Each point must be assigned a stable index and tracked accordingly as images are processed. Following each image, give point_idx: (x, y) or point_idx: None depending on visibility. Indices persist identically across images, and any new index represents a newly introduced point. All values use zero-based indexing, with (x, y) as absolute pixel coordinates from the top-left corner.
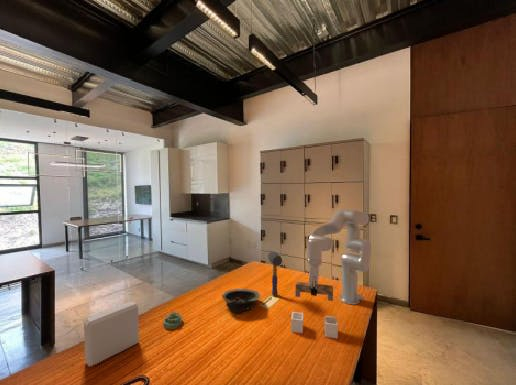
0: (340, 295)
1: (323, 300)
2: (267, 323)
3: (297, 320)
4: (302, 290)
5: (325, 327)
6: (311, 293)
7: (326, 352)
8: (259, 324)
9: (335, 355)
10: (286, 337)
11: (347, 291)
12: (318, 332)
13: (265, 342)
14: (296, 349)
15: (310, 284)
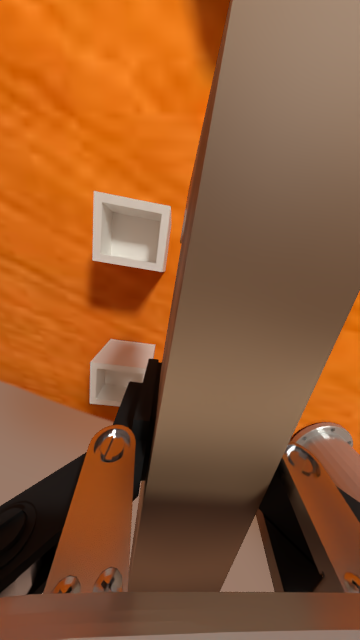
0: (345, 431)
1: (329, 370)
2: (166, 84)
3: (94, 231)
4: (178, 268)
5: (100, 353)
6: (145, 372)
7: (34, 328)
8: (153, 25)
9: (29, 350)
10: (77, 189)
11: (335, 481)
12: (130, 321)
13: (17, 70)
14: (17, 227)
15: (223, 448)
